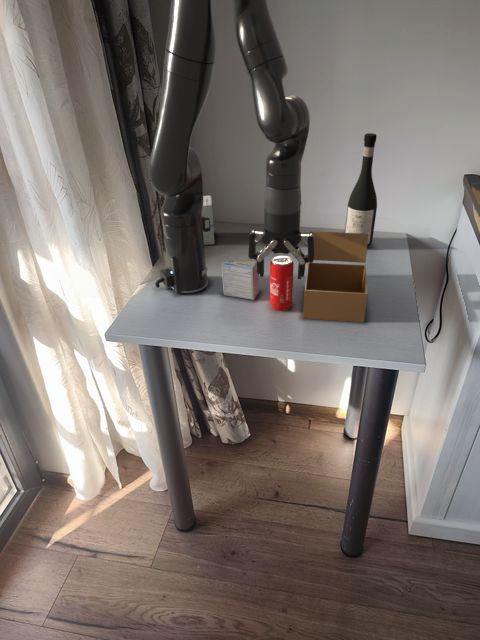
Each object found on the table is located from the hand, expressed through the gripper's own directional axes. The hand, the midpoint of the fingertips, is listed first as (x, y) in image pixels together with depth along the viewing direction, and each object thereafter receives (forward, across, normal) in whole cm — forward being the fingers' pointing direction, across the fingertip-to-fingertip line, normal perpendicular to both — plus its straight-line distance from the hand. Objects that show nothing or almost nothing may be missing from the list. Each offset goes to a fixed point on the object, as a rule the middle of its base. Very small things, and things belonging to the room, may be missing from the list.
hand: (280, 276), depth 108 cm
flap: (-3, +12, +10) cm, 16 cm away
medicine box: (+8, -10, +5) cm, 14 cm away
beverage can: (+8, 0, 0) cm, 8 cm away
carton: (+8, +12, +2) cm, 15 cm away
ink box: (+8, -26, +35) cm, 45 cm away
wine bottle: (+8, +19, +37) cm, 42 cm away
